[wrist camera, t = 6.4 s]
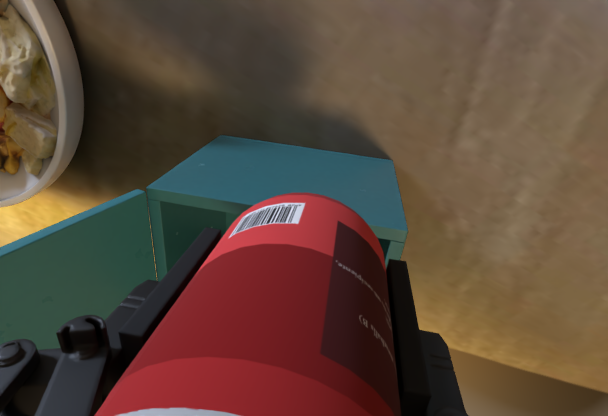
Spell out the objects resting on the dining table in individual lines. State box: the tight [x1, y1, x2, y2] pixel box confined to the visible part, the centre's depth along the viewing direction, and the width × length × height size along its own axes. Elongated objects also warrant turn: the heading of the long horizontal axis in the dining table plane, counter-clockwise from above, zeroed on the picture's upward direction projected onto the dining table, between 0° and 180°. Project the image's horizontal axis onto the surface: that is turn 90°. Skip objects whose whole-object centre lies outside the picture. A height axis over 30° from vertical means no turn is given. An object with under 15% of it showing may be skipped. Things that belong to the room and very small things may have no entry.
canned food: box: [94, 193, 401, 416], centre depth 12 cm, size 8×8×11 cm
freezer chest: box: [146, 135, 408, 282], centre depth 32 cm, size 17×15×14 cm
